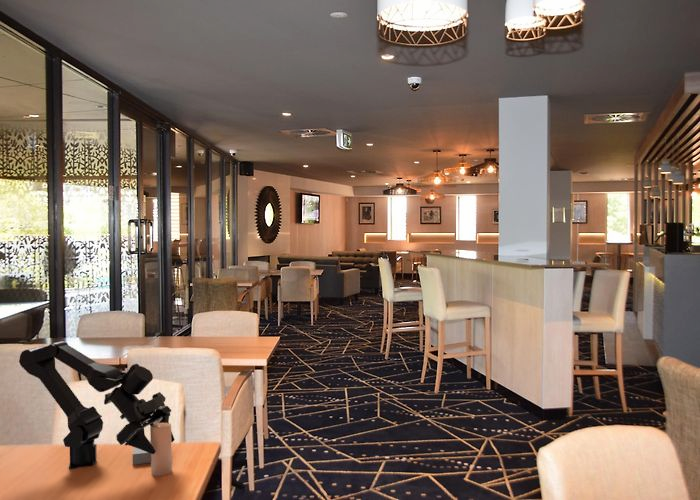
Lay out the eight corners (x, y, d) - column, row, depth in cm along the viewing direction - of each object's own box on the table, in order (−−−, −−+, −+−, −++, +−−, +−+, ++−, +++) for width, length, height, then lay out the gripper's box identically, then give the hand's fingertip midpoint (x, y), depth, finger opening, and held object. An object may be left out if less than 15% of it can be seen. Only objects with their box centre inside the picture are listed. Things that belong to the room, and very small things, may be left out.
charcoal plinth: (132, 464, 168) (132, 454, 168) (134, 452, 178) (134, 442, 178) (169, 460, 171) (168, 450, 171) (168, 448, 181) (168, 438, 181)
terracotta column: (151, 477, 160) (150, 430, 159) (151, 469, 165) (150, 423, 165) (172, 474, 161) (171, 427, 161) (171, 467, 167) (171, 421, 166)
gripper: (125, 395, 155) (162, 440, 152) (165, 377, 173) (199, 417, 170) (100, 422, 157) (137, 467, 154) (142, 402, 175) (175, 442, 172)
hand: (164, 447), depth 163 cm, fingers open, 9 cm apart
